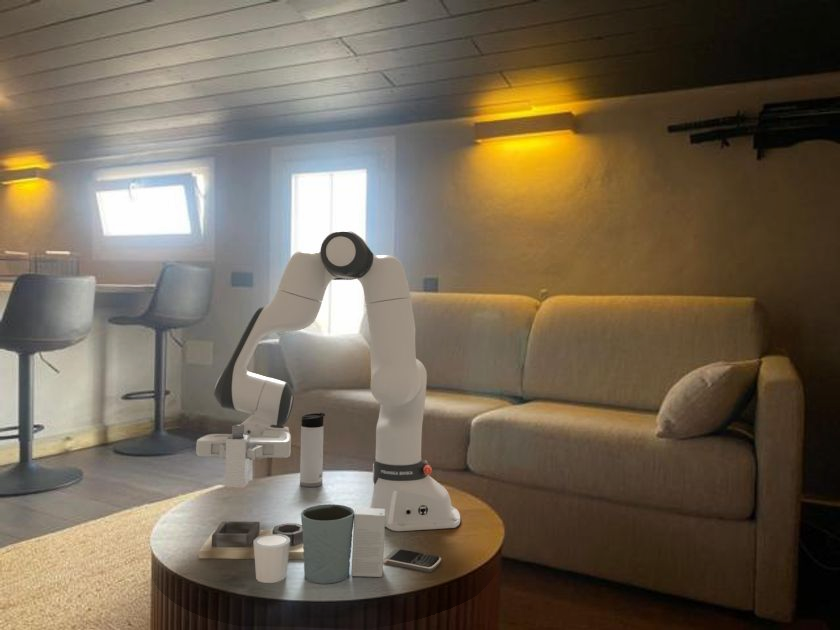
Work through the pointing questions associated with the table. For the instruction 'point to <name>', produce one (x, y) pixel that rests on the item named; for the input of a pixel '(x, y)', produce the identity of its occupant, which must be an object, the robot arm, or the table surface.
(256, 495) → the table surface
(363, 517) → the skincare box
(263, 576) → the white cup
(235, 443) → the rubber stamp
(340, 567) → the green cylindrical pot
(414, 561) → the cell phone
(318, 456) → the travel mug
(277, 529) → the socket board
